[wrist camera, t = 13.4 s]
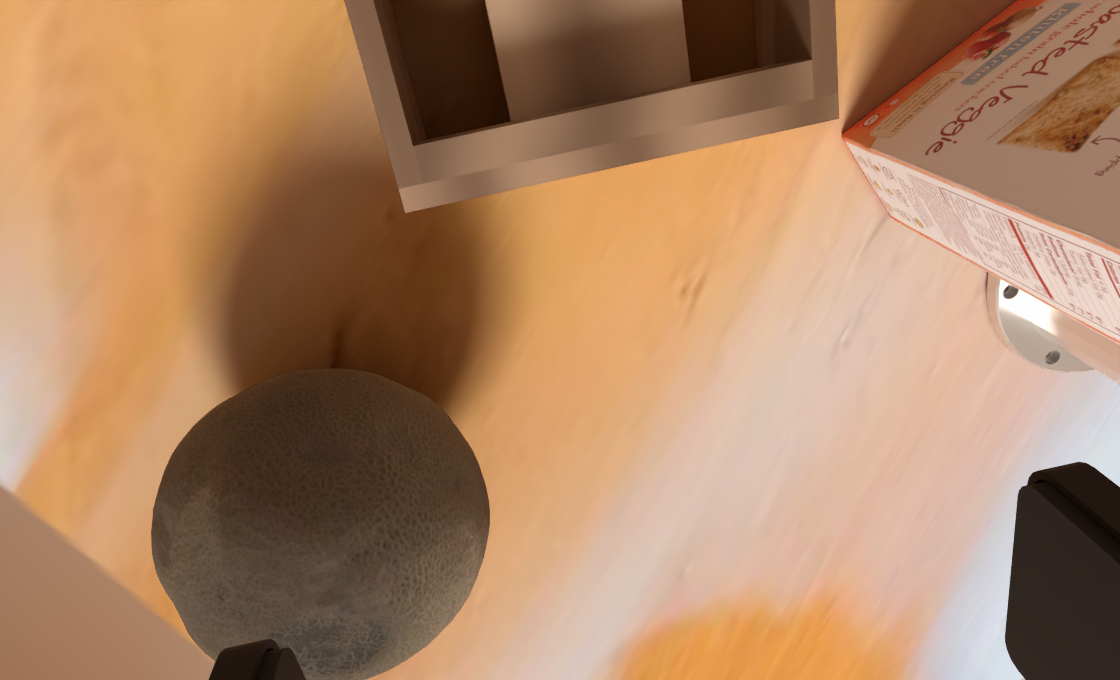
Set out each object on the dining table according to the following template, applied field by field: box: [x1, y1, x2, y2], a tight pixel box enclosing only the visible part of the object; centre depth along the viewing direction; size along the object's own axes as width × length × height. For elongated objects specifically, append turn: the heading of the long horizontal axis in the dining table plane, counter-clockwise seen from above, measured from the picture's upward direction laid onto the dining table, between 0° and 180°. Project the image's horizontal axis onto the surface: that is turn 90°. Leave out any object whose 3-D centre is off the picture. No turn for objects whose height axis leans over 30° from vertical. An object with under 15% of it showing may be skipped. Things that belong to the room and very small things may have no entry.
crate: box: [344, 0, 839, 213], centre depth 32 cm, size 18×12×6 cm, turn 101°
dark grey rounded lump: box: [151, 369, 490, 680], centre depth 35 cm, size 14×14×15 cm
